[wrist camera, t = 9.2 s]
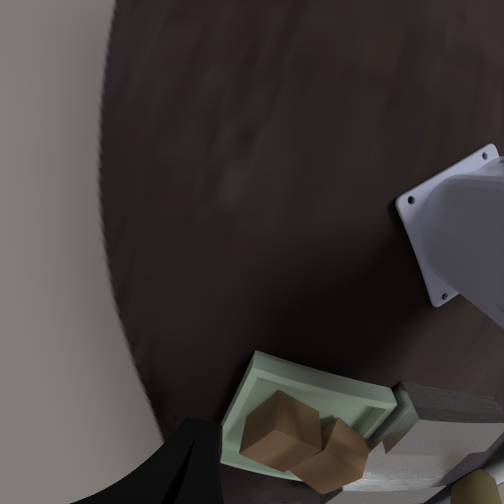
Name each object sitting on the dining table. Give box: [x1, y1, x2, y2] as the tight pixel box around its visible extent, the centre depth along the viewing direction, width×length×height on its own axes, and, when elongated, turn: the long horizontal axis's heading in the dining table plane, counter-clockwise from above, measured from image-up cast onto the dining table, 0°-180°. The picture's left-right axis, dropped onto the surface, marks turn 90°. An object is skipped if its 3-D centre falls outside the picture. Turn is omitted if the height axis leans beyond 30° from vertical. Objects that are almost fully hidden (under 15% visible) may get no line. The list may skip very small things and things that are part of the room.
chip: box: [289, 417, 371, 495], centre depth 17 cm, size 4×4×4 cm
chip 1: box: [239, 389, 322, 473], centre depth 17 cm, size 4×4×4 cm
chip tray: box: [220, 350, 397, 481], centre depth 19 cm, size 11×12×2 cm
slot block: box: [320, 381, 504, 504], centre depth 17 cm, size 14×14×4 cm
